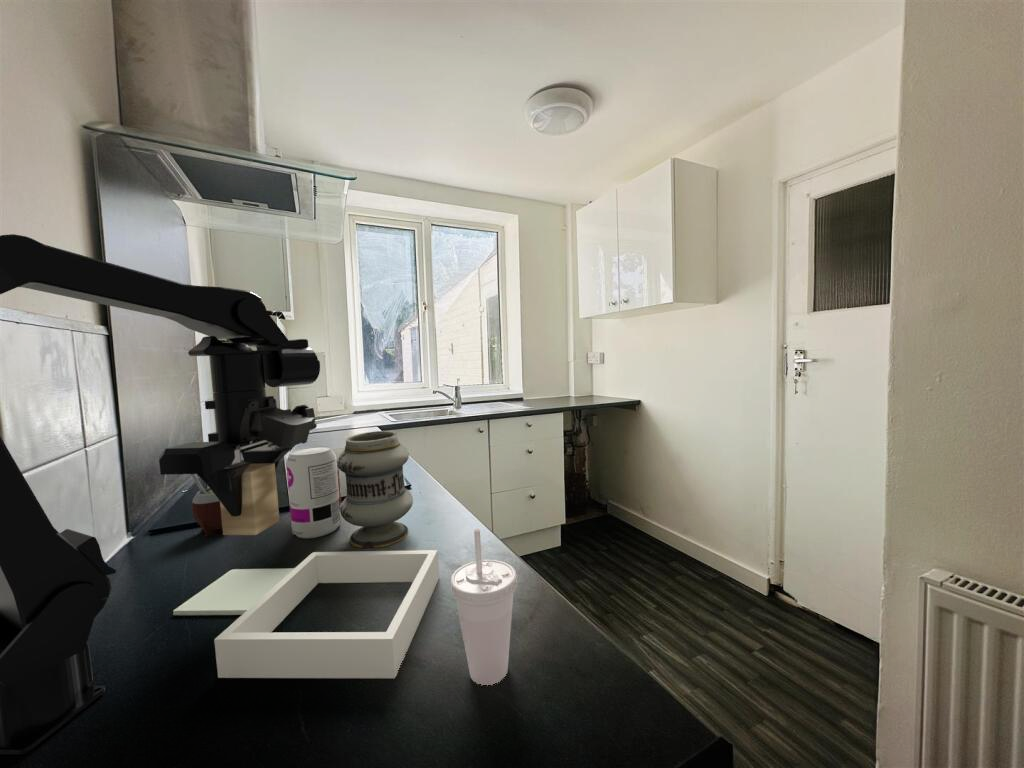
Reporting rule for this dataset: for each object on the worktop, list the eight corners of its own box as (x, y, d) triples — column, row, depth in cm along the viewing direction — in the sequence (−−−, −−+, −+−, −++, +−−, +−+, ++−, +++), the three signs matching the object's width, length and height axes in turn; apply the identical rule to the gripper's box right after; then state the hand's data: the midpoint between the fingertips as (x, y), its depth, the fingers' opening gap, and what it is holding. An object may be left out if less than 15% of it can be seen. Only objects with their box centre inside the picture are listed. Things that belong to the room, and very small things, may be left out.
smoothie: (487, 639, 45) (480, 513, 44) (534, 665, 41) (528, 527, 40) (441, 676, 40) (433, 535, 39) (491, 710, 36) (482, 554, 35)
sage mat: (249, 614, 51) (249, 610, 51) (173, 615, 52) (173, 610, 52) (296, 572, 61) (296, 568, 61) (232, 573, 62) (231, 569, 62)
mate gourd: (248, 523, 82) (241, 448, 81) (218, 541, 74) (210, 458, 73) (211, 524, 82) (203, 449, 81) (178, 542, 74) (169, 460, 73)
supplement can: (287, 543, 71) (279, 458, 70) (298, 524, 79) (291, 448, 78) (337, 535, 74) (331, 452, 73) (343, 518, 82) (337, 443, 80)
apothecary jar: (331, 554, 66) (322, 444, 65) (356, 524, 78) (349, 430, 77) (406, 549, 67) (399, 440, 66) (420, 520, 79) (414, 427, 78)
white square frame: (395, 678, 40) (392, 638, 40) (218, 677, 41) (214, 639, 41) (439, 577, 58) (437, 550, 58) (315, 579, 59) (312, 552, 59)
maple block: (256, 534, 52) (250, 472, 51) (223, 535, 52) (217, 473, 52) (279, 520, 56) (274, 463, 56) (248, 520, 57) (243, 463, 56)
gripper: (244, 395, 43) (257, 540, 44) (336, 383, 62) (344, 485, 63) (148, 399, 44) (162, 540, 45) (266, 386, 63) (275, 486, 64)
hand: (250, 508), depth 54 cm, fingers closed on maple block, 4 cm apart
